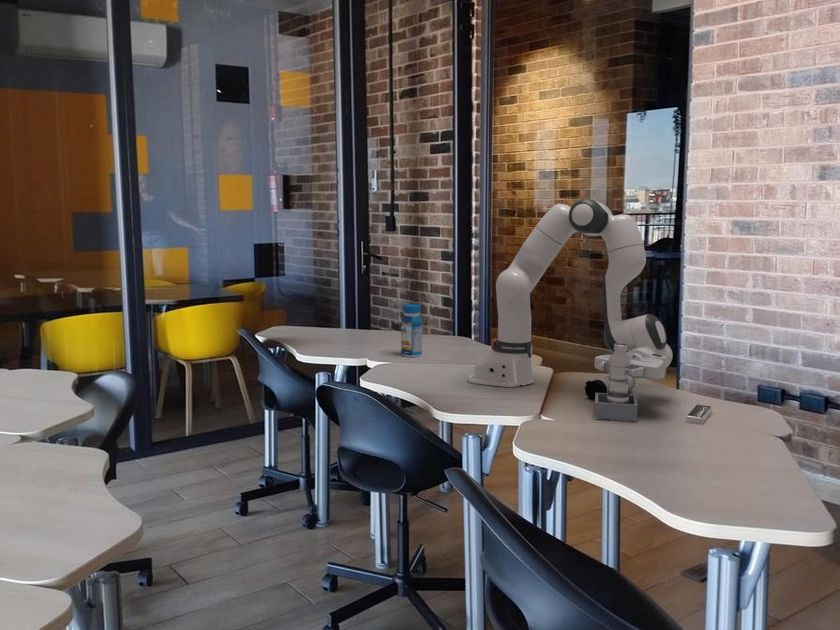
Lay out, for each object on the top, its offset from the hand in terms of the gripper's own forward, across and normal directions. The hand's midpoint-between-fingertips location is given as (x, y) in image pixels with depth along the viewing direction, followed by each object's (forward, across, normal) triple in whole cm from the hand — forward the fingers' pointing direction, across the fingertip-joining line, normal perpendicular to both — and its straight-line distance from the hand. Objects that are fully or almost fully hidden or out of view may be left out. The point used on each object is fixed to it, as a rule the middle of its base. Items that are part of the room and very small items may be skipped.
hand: (615, 370), depth 229 cm
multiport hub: (-16, +19, +14) cm, 28 cm away
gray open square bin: (-1, 0, +13) cm, 13 cm away
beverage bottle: (-21, -99, +14) cm, 102 cm away
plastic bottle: (-2, 0, +13) cm, 13 cm away
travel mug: (-30, -12, +10) cm, 34 cm away
